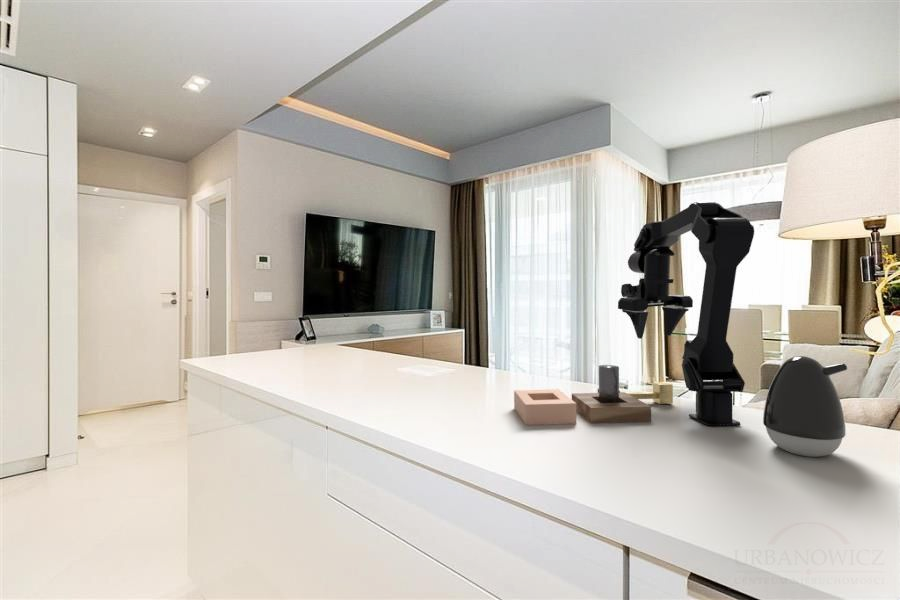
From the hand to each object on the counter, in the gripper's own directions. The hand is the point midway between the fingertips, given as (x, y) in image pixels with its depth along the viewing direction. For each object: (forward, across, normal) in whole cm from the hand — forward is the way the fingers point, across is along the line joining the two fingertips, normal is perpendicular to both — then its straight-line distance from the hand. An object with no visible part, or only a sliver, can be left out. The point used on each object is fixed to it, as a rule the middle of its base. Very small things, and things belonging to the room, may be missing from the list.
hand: (654, 336), depth 108 cm
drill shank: (+13, +23, +11) cm, 29 cm away
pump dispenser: (+11, +9, +40) cm, 42 cm away
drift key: (+13, +10, +8) cm, 18 cm away
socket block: (+13, +23, +10) cm, 28 cm away
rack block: (+13, +36, +7) cm, 39 cm away
